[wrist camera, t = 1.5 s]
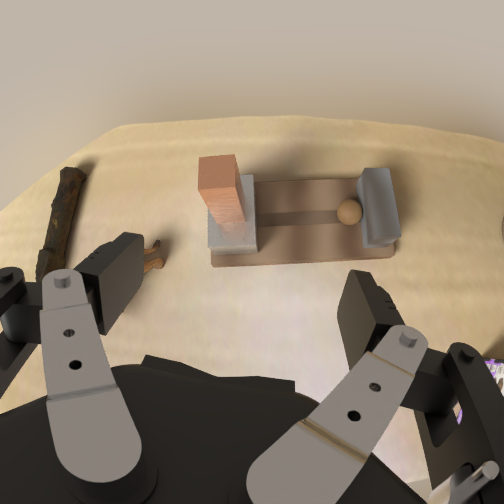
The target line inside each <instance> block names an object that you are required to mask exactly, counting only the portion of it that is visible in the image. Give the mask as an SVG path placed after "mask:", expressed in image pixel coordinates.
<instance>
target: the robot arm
mask: <svg viewBox="0 0 504 504" xmlns="http://www.w3.org/2000/svg"><path fill="white" fill-rule="evenodd" d="M502 232H503V239H504V219H503V224H502ZM143 277H144V237H143V235H141V234H135V233H129V232H123V233H122V234H121V235H120V236H119V237H117V238H116V239H115V240H114V241H113V242H108V243H106V244H103V245H101V246H99V247H98V248H97V249H96V250H95V251H93V253H91V254H90V255H89V256H88V258H85V259H84V260H83V261H82V262H81V263H80V264H78V265H77V266H76V267H75V268H74V269H73V270H72V269H59V270H55V271H52V272H50V273H48V274H47V275H46V276H45V277H44V278H43V280H42V283H39V282H25V277H24V273H23V271H22V270H21V269H20V268H17V267H6V268H2V269H0V321H1V324H2V327H3V331H2V332H1V334H0V399H1V397H2V396H3V394H4V392H5V391H6V389H7V388H8V386H9V385H10V383H11V382H12V381H13V379H14V378H15V376H16V375H17V373H18V372H19V370H20V369H21V368H22V366H23V365H24V363H25V362H26V360H27V359H28V358H29V356H30V355H31V354H32V352H33V351H34V349H35V348H36V347H37V345H38V344H42V355H43V365H44V373H45V381H46V388H47V395H46V396H43V397H41V398H39V399H36V400H34V401H32V402H29V403H27V404H24V405H22V406H19V407H17V408H15V409H12V410H10V411H7V412H5V413H2V414H0V504H504V396H503V394H502V392H501V391H500V389H499V387H498V385H497V383H496V381H495V379H494V377H493V376H492V374H491V372H490V370H489V368H488V367H487V365H486V363H485V361H484V360H483V358H482V356H481V355H480V353H479V352H478V351H477V350H476V349H474V348H473V347H471V346H469V345H467V344H465V343H460V342H456V343H453V344H451V346H450V347H449V349H448V351H447V353H443V352H440V351H436V350H433V349H430V348H427V347H428V341H427V339H426V338H425V336H424V335H423V334H422V333H421V332H419V331H418V330H416V329H414V328H412V327H409V326H406V325H405V323H404V321H403V319H402V318H401V316H400V314H399V312H398V310H396V306H395V304H394V303H393V301H392V299H391V297H390V295H389V294H388V293H387V292H386V291H385V290H384V289H383V288H382V287H381V286H377V284H376V282H375V280H374V279H373V277H372V275H371V273H370V272H365V271H358V270H351V271H350V272H349V274H348V277H347V280H346V284H345V287H344V290H343V293H342V296H341V299H340V302H339V306H338V312H337V319H338V324H339V328H340V332H341V336H342V340H343V344H344V348H345V352H346V357H347V361H348V365H349V370H350V372H349V373H348V374H347V375H346V376H345V377H344V379H343V380H342V381H341V382H340V383H339V384H338V385H337V386H336V387H335V389H334V390H333V391H332V392H331V393H330V394H329V395H328V396H327V397H326V398H325V399H324V400H323V401H322V402H321V403H319V402H317V401H315V400H314V399H312V398H310V397H308V396H305V395H303V394H300V393H297V392H295V381H292V380H283V379H275V378H268V377H261V376H247V377H217V376H213V375H211V374H208V373H206V372H203V371H201V370H198V369H196V368H193V367H191V366H188V365H186V364H183V363H181V362H177V361H172V360H167V359H163V358H159V357H154V356H150V355H145V357H144V359H143V361H142V363H141V364H128V365H120V366H116V367H112V368H110V366H109V363H108V360H107V357H106V354H105V351H104V348H103V345H102V341H101V338H100V335H99V334H101V335H105V336H106V335H107V333H108V332H109V330H110V329H111V327H112V326H113V324H114V323H115V321H116V320H117V319H118V317H119V316H120V314H121V313H122V311H123V310H124V309H125V307H126V306H127V304H128V303H129V301H130V300H131V299H132V297H133V296H134V294H135V293H136V292H137V290H138V289H139V288H140V286H141V284H142V281H143ZM458 401H459V404H460V406H461V409H462V418H461V421H460V423H459V424H458V421H457V419H456V416H455V413H454V411H453V408H454V407H455V405H456V404H457V403H458ZM399 406H402V407H406V408H410V409H413V410H414V414H415V418H416V422H417V425H418V429H419V433H420V437H421V441H422V445H423V449H424V453H425V458H426V462H427V467H428V471H429V476H430V480H431V486H432V492H431V494H430V495H429V497H428V501H427V502H425V501H424V500H423V499H422V498H421V497H420V496H419V495H418V494H417V493H415V492H414V491H413V490H412V489H411V488H410V487H409V486H408V485H407V484H406V483H404V482H403V481H402V480H401V479H400V478H399V477H398V476H397V475H396V474H395V473H394V472H392V471H391V470H390V469H389V468H388V467H387V466H386V465H385V464H384V463H383V462H382V461H381V460H380V459H379V458H378V457H376V456H375V455H374V454H373V453H372V450H373V449H374V447H375V446H376V444H377V442H378V441H379V439H380V438H381V436H382V435H383V433H384V431H385V430H386V428H387V426H388V425H389V423H390V421H391V420H392V418H393V416H394V414H395V413H396V411H397V409H398V407H399Z"/></svg>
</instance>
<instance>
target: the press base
mask: <svg viewBox="0 0 504 504" xmlns="http://www.w3.org/2000/svg"><path fill="white" fill-rule="evenodd" d="M254 184H255V195H256V218H257V241H258V253H250V254H231V255H214V254H213V253H212V251H211V265H212V266H213V267H235V266H256V265H276V264H295V263H314V262H332V261H349V260H366V259H383V258H391V257H392V256H394V255H395V249H394V241H395V240H397V239H398V238H399V237H401V230H400V224H399V217H398V211H397V206H396V200H395V195H394V190H393V184H392V180H391V175H390V170H389V168H364V170H363V172H362V174H361V176H360V178H359V179H319V180H291V181H270V182H254ZM349 199H350V200H354V201H356V202H358V203H359V204H360V206H361V208H362V217H361V219H360V221H359V222H358V223H356V224H354V225H346V224H344V223H342V222H341V221H340V220H339V218H338V215H337V209H338V206H339V205H340V203H341V202H343V201H345V200H349Z"/></svg>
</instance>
